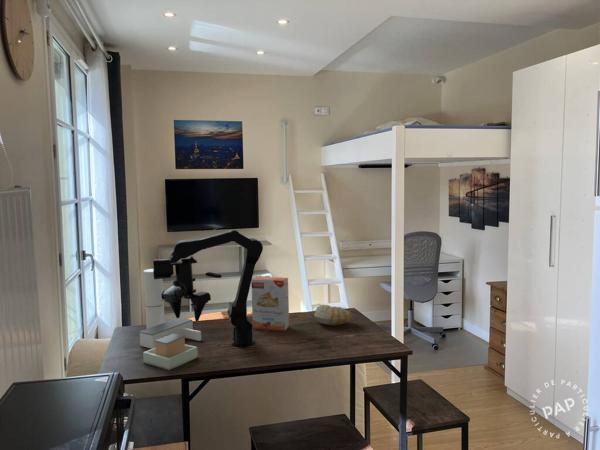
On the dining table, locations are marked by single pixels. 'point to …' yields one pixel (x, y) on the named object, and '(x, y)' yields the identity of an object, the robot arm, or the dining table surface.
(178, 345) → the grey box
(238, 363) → the dining table surface
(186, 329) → the grey forked piece
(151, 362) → the tray
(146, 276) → the cylindrical container
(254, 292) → the cracker box
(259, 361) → the dining table surface
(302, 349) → the dining table surface
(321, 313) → the nautilus
